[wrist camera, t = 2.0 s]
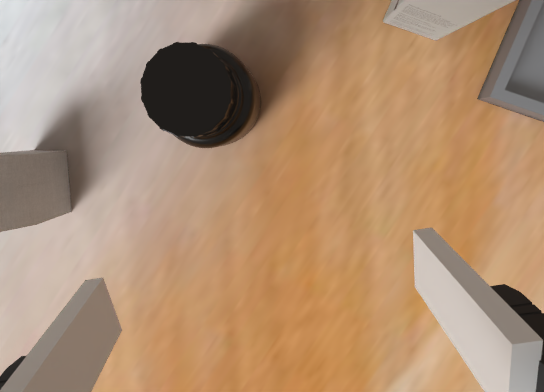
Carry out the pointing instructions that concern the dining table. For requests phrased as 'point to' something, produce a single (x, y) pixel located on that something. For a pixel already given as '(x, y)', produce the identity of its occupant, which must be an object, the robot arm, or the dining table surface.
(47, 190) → the tea bag
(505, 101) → the tray
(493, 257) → the dining table surface
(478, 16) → the skincare box
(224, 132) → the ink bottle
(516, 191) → the dining table surface
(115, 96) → the dining table surface
